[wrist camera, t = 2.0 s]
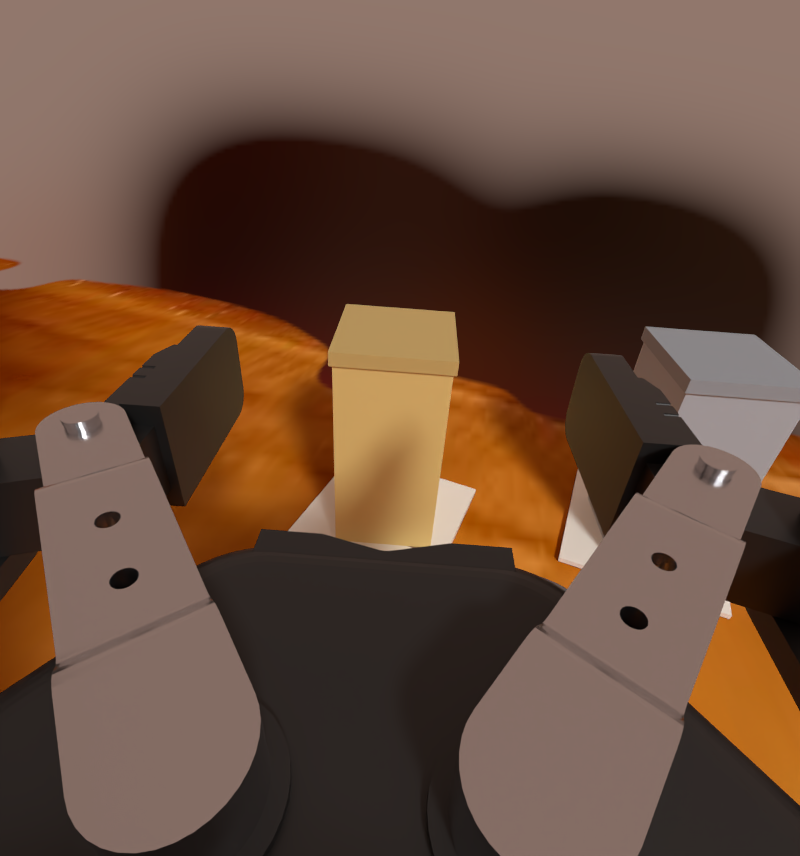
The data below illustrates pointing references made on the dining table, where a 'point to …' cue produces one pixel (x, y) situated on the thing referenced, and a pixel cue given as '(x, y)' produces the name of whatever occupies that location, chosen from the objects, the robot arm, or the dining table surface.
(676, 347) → the slate tea tin
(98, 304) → the dining table surface
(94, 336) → the dining table surface
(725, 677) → the dining table surface
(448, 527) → the cream tile
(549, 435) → the dining table surface
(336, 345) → the ochre tea tin
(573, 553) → the cream tile
